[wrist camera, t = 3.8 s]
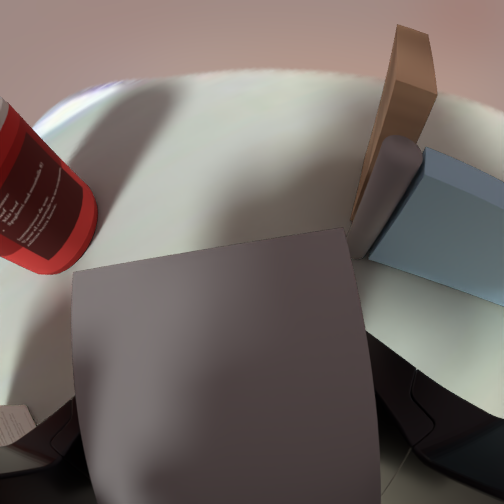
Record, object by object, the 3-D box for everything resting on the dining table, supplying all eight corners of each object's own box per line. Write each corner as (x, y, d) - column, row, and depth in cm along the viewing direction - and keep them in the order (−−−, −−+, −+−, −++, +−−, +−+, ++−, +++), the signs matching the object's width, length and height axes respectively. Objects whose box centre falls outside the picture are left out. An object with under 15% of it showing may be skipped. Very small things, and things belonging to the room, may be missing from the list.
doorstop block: (320, 410, 13) (380, 517, 3) (223, 421, 14) (101, 515, 3) (307, 316, 15) (343, 226, 5) (212, 330, 15) (73, 272, 5)
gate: (340, 254, 16) (379, 161, 8) (346, 232, 16) (384, 129, 8) (530, 320, 12) (618, 287, 5) (532, 300, 13) (616, 261, 5)
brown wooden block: (372, 227, 16) (437, 94, 7) (349, 220, 16) (395, 79, 7) (384, 164, 17) (428, 34, 8) (364, 157, 18) (397, 24, 8)
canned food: (30, 210, 20) (-54, 143, 10) (99, 169, 20) (17, 72, 10) (29, 292, 18) (-85, 239, 7) (106, 256, 18) (-21, 165, 7)
